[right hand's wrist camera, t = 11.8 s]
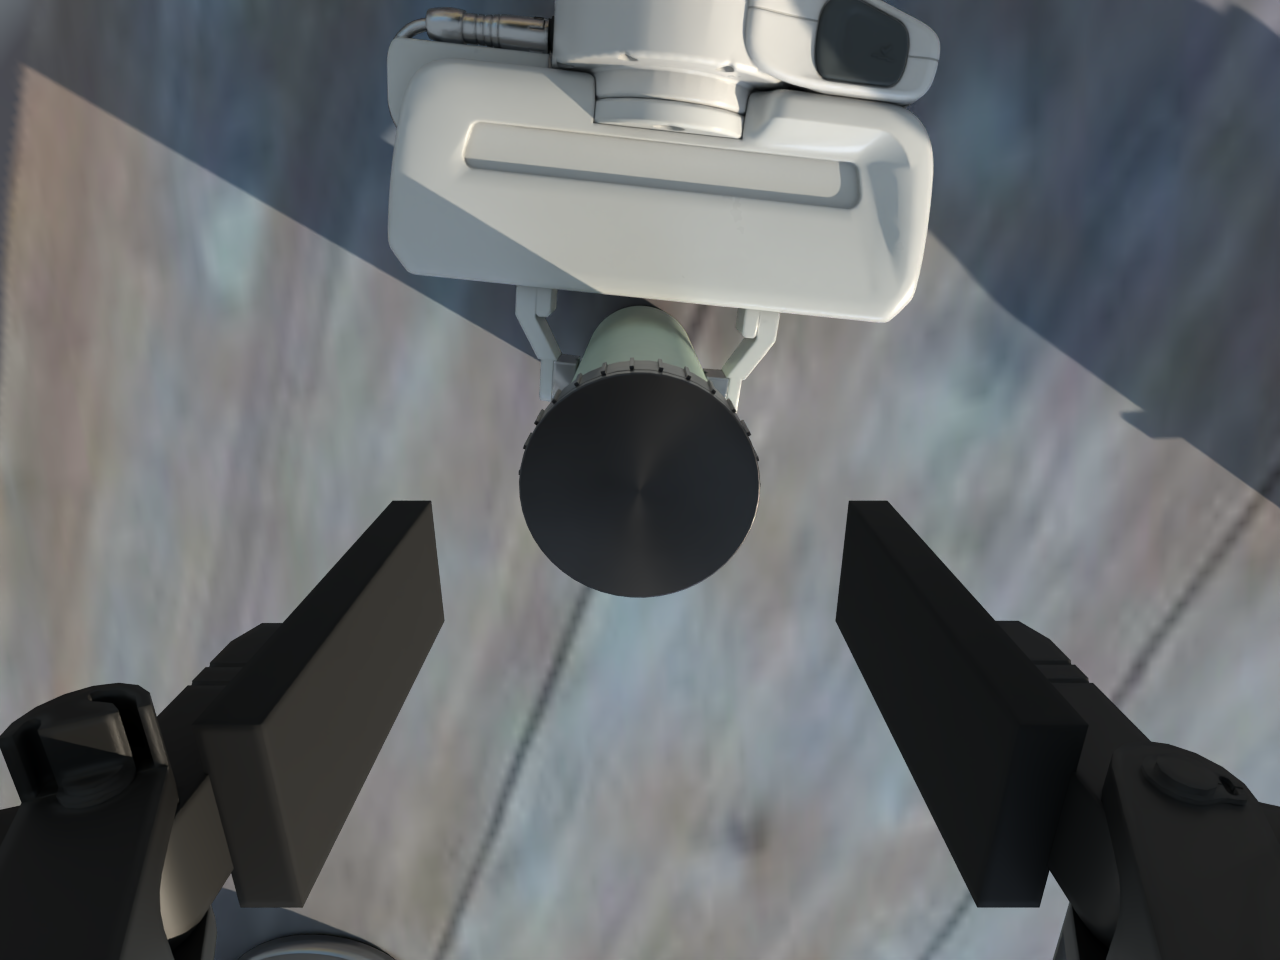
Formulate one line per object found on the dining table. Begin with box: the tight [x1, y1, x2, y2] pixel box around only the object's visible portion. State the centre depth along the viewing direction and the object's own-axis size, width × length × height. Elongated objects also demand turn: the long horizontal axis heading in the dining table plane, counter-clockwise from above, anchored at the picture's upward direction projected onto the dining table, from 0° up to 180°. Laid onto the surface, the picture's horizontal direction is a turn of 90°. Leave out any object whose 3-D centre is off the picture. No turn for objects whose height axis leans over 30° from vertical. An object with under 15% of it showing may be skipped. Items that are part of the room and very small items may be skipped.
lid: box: [519, 357, 760, 598], centre depth 19 cm, size 6×6×2 cm
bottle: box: [572, 306, 707, 382], centre depth 27 cm, size 5×5×18 cm
